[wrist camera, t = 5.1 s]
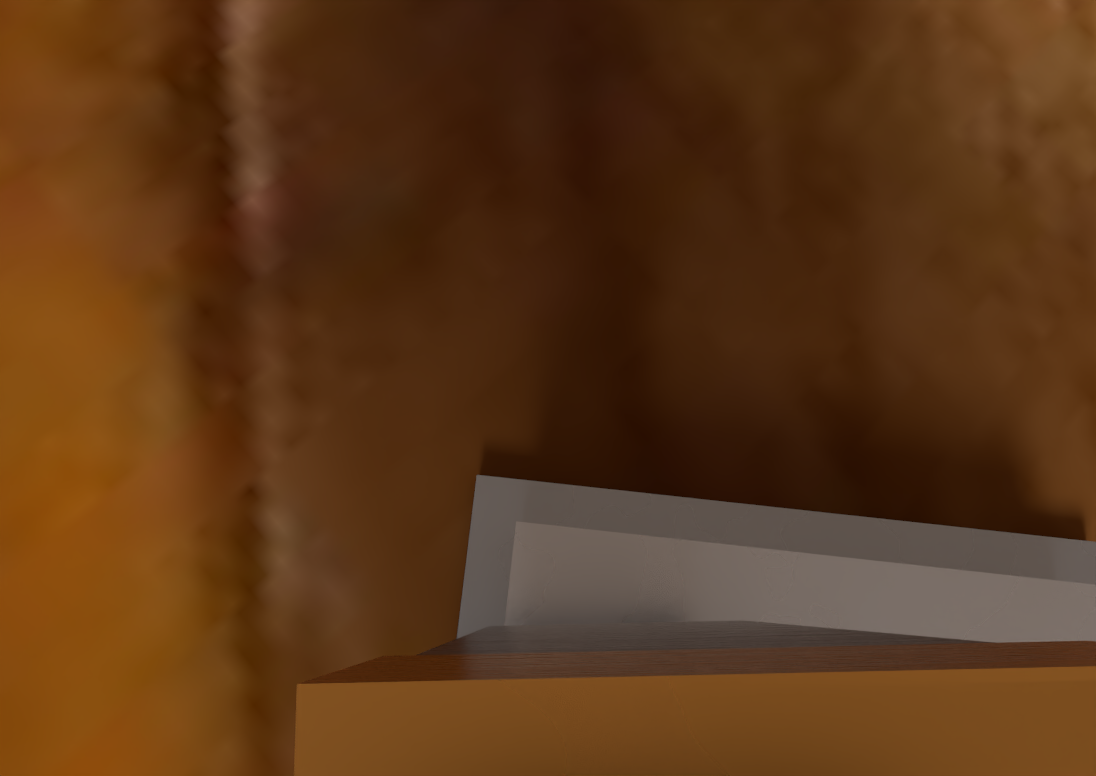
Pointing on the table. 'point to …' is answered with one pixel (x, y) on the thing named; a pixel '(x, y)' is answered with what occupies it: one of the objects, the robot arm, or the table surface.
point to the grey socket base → (761, 567)
